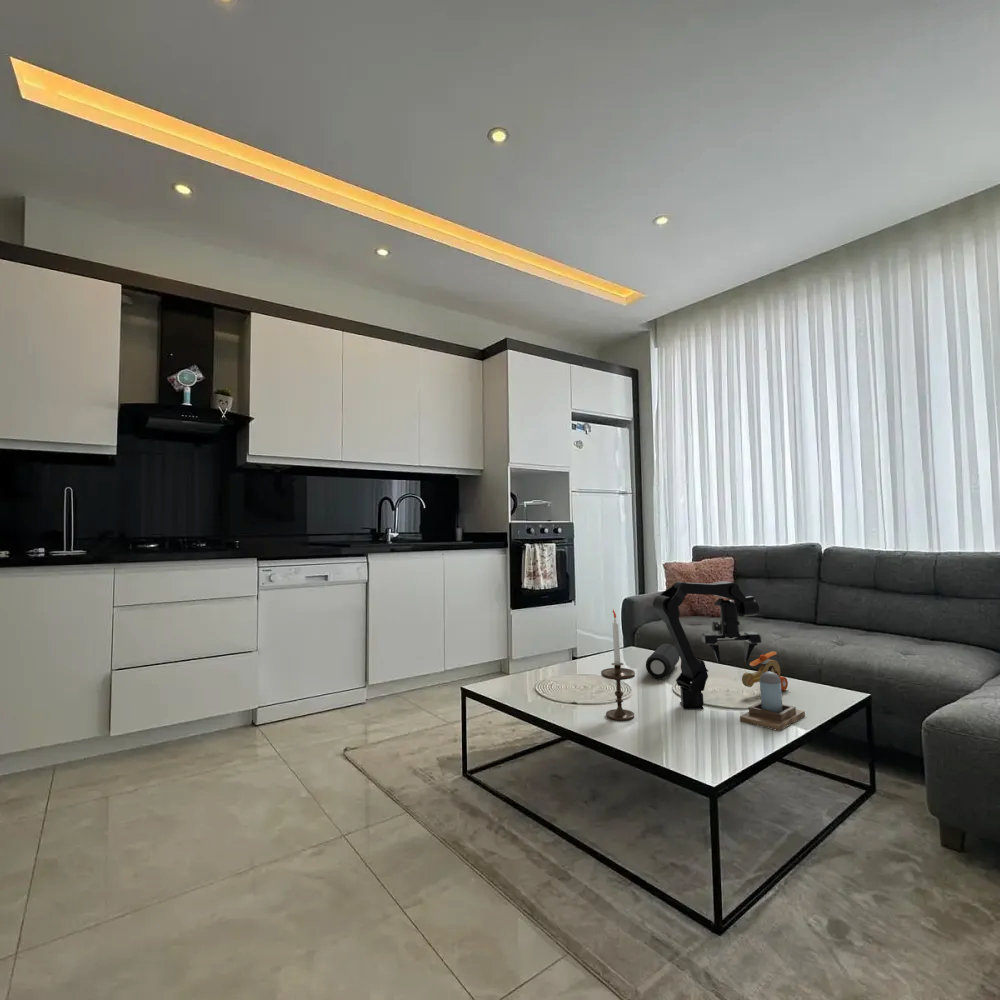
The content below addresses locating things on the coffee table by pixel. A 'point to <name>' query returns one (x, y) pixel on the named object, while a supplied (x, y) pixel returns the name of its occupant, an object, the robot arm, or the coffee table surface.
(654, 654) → the portable speaker
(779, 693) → the blue grey domed cylinder
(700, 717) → the coffee table surface
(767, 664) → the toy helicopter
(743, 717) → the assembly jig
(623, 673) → the candlestick
